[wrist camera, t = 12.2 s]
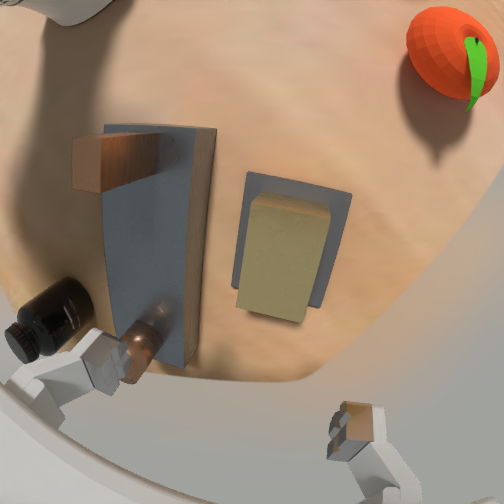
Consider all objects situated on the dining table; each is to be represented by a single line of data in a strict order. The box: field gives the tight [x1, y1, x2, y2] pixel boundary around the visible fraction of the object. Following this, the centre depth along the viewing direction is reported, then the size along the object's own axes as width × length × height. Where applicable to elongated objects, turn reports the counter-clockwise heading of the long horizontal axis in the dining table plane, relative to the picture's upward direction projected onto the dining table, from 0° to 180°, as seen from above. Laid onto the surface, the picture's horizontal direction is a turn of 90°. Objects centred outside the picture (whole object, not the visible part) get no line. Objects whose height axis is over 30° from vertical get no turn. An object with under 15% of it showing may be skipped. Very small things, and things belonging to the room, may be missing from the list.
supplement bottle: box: [5, 278, 93, 364], centre depth 27 cm, size 7×7×12 cm
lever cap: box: [236, 190, 331, 323], centre depth 21 cm, size 8×5×4 cm, turn 172°
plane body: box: [72, 123, 217, 384], centre depth 21 cm, size 22×8×10 cm, turn 172°
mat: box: [231, 172, 352, 307], centre depth 23 cm, size 10×8×1 cm
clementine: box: [406, 7, 500, 113], centre depth 12 cm, size 8×7×7 cm
